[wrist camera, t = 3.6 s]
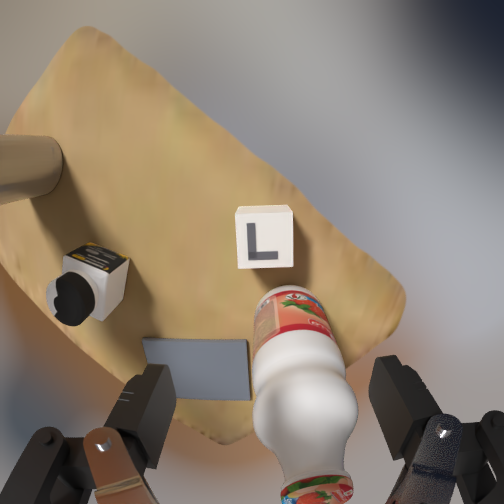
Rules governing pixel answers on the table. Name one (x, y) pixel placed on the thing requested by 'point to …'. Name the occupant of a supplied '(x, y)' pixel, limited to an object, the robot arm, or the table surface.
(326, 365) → the white plastic bottle
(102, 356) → the table surface
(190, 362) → the slate mat
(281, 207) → the letter cube
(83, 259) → the medicine bottle
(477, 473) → the robot arm
